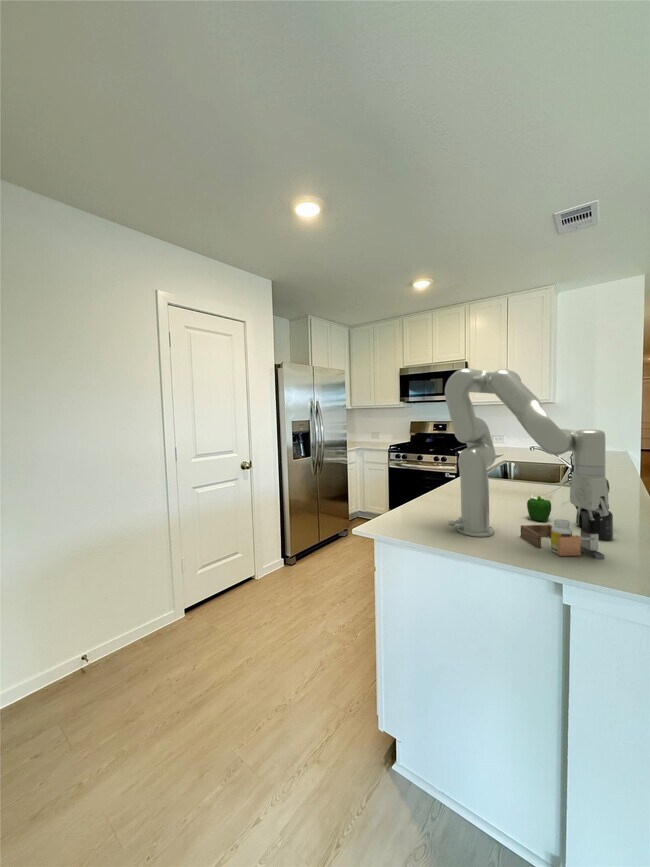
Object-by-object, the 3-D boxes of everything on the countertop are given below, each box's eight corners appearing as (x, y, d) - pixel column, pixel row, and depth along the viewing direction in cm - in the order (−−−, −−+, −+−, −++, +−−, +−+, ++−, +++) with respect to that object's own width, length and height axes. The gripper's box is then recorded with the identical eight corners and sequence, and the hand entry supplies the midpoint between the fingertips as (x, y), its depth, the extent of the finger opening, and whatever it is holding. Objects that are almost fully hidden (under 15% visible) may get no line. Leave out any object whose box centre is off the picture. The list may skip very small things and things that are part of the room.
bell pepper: (530, 515, 144) (530, 491, 144) (553, 519, 138) (553, 494, 138) (523, 519, 139) (523, 495, 138) (547, 524, 132) (547, 498, 132)
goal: (538, 547, 111) (537, 535, 111) (520, 536, 121) (520, 525, 121) (569, 546, 111) (569, 534, 111) (549, 535, 121) (549, 524, 120)
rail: (595, 559, 101) (595, 555, 101) (556, 537, 118) (556, 534, 118) (604, 558, 101) (604, 554, 101) (563, 537, 118) (563, 534, 118)
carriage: (560, 555, 103) (560, 515, 102) (551, 550, 107) (551, 511, 107) (598, 554, 103) (599, 514, 102) (588, 549, 107) (588, 510, 106)
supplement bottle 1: (562, 556, 104) (562, 524, 103) (546, 549, 109) (546, 519, 109) (576, 553, 105) (576, 522, 105) (560, 547, 110) (560, 517, 110)
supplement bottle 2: (607, 534, 119) (607, 500, 119) (616, 541, 113) (617, 505, 112) (584, 533, 122) (584, 499, 121) (591, 540, 115) (592, 504, 115)
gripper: (558, 467, 112) (559, 522, 113) (597, 476, 96) (597, 540, 97) (582, 466, 112) (582, 521, 113) (625, 475, 96) (624, 540, 97)
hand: (589, 530), depth 105 cm, fingers closed on carriage, 3 cm apart
